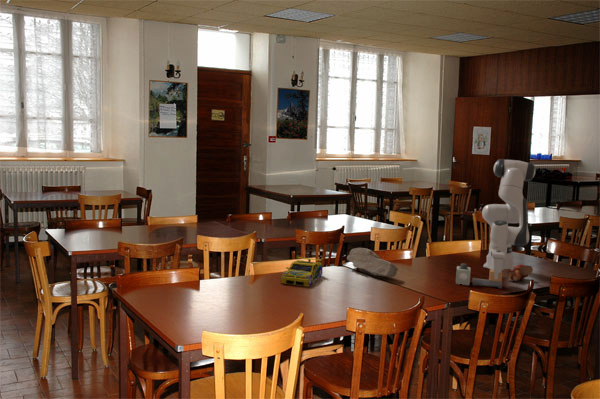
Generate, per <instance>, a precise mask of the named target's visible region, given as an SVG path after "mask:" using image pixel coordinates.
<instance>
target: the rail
mask: <svg viewBox="0 0 600 399" xmlns="http://www.w3.org/2000/svg"><path fill="white" fill-rule="evenodd" d="M471 284H472V286H481V287H482V286H484V287H492V288H498V289H503V281H502V282H501V286H497V285H489V279H485V278H477V277H472V283H471Z"/></svg>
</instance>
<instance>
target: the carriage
mask: <svg viewBox="0 0 600 399" xmlns="http://www.w3.org/2000/svg"><path fill="white" fill-rule="evenodd" d="M502 279H503V276H502V271H501V273H499V274H498V279H494V270H492V269H489V276H488V280H489V285H497V286H501V282H502V283H503V280H502Z"/></svg>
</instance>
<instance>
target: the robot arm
mask: <svg viewBox="0 0 600 399" xmlns="http://www.w3.org/2000/svg"><path fill="white" fill-rule="evenodd" d="M493 173H494V174H493V175H494V176H496V177H497V178H501V179H500V182H499V183H500V184H499V187H498V188H499V189H498V197H499V198H500V200H502V201H504V203H505V204H498V203H492V204H486V205H485V206H484V207H483V208H482V210H481V216H482V218H483V220H484V221H485V222H487V224H488V225H489V226H490V233H489V238H490V243H489V245H488V246H489V247H488V248H489V249H488V254H487V255H486V258H485V259H486V262H484V264H483V266H482V267H483V268H486V269H489V270H494V279H498V274H499V273H501V271H503V270H504V269H511V270H512V271H513V268H514V267H515V266H514V262H515V260H514V259H515V256H514V255H513V254H512V252H513V247H512V246H515V247H520V248H523V247H524V246H526V245H528V243H529V241H530V232H529V212H528V211H529V208H528V207H529V206H528V201H527V199H526V198H525V197H524V195H523V190H524V182H530V181H532V180H533V178H534V177H535V175H536V167H535V165H534V163H532V162H526V161H522V160H517V159H516V160H515V159H504V158H499V159H497V160H496V162H495V163H494V165H493ZM509 224H519V226H509Z"/></svg>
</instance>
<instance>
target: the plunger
mask: <svg viewBox="0 0 600 399" xmlns="http://www.w3.org/2000/svg"><path fill="white" fill-rule="evenodd" d="M460 266H461V267H460V269H466V270H467V267H468V263H460Z"/></svg>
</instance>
